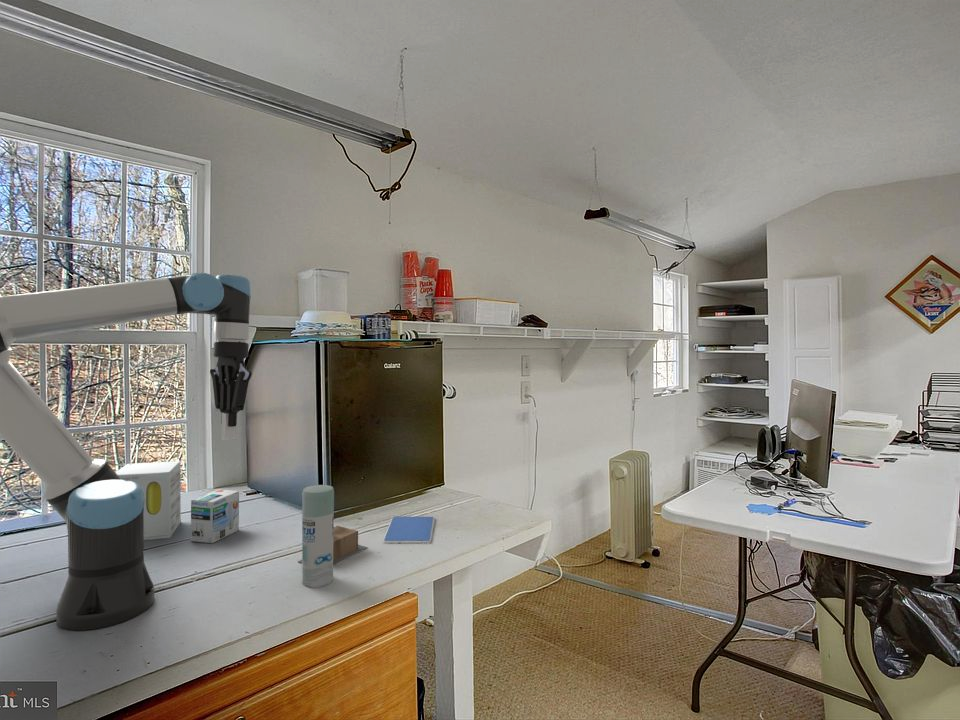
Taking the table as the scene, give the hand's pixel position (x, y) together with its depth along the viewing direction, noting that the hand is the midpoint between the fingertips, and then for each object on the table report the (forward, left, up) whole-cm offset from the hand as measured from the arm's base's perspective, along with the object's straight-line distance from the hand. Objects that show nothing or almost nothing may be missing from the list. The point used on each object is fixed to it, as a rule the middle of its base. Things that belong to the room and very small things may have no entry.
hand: (228, 439), depth 125 cm
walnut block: (+7, -21, -25) cm, 34 cm away
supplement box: (-2, +31, -28) cm, 42 cm away
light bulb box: (+6, +14, -28) cm, 32 cm away
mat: (+13, -22, -28) cm, 37 cm away
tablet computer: (+36, -27, -29) cm, 53 cm away
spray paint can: (+1, -29, -28) cm, 40 cm away
